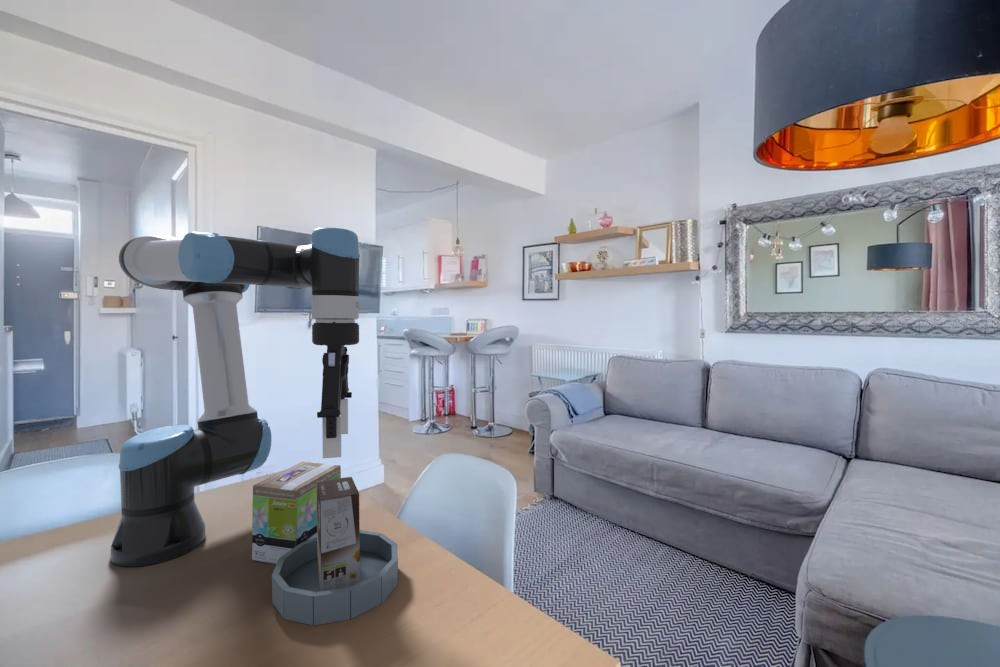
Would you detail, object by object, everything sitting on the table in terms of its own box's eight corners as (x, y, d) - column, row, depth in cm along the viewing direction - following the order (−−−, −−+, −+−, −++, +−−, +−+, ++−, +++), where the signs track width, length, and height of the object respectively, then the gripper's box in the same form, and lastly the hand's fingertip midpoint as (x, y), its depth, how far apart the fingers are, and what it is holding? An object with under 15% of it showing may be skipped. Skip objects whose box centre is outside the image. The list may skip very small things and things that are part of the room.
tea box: (297, 568, 82) (296, 489, 81) (250, 561, 84) (249, 485, 83) (342, 529, 97) (341, 463, 96) (301, 525, 99) (300, 459, 98)
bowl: (288, 560, 84) (287, 537, 84) (396, 547, 89) (395, 525, 89) (259, 634, 65) (259, 604, 65) (399, 611, 70) (399, 583, 70)
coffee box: (361, 587, 75) (360, 493, 74) (320, 598, 72) (319, 500, 71) (353, 560, 83) (352, 475, 82) (316, 568, 80) (315, 481, 79)
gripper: (354, 323, 64) (354, 467, 65) (362, 320, 88) (362, 425, 89) (298, 323, 62) (299, 471, 63) (322, 319, 86) (322, 427, 87)
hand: (336, 444), depth 76 cm, fingers open, 13 cm apart
